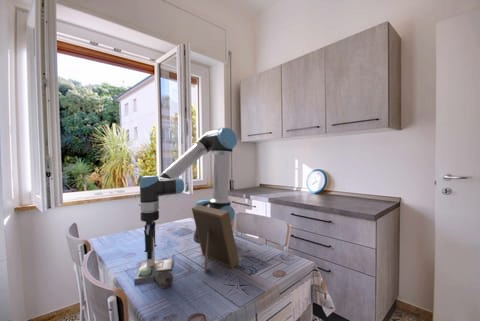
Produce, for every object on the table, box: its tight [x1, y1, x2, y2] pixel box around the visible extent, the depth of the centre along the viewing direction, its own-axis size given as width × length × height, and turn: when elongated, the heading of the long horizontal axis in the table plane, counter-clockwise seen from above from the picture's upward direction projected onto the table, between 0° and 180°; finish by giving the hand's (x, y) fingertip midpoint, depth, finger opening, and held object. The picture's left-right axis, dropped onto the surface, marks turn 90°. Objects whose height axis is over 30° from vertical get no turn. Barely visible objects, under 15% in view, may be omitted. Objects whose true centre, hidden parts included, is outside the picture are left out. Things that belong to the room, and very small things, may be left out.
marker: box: [148, 238, 156, 267], centre depth 99 cm, size 3×3×12 cm
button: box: [140, 267, 151, 277], centre depth 90 cm, size 4×4×3 cm
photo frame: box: [191, 205, 240, 274], centre depth 102 cm, size 15×22×25 cm
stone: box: [154, 271, 174, 289], centre depth 86 cm, size 10×5×8 cm
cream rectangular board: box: [136, 258, 174, 274], centre depth 99 cm, size 14×10×1 cm
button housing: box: [133, 268, 156, 285], centre depth 90 cm, size 7×7×2 cm
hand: (151, 263), depth 99 cm, fingers closed on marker, 3 cm apart
